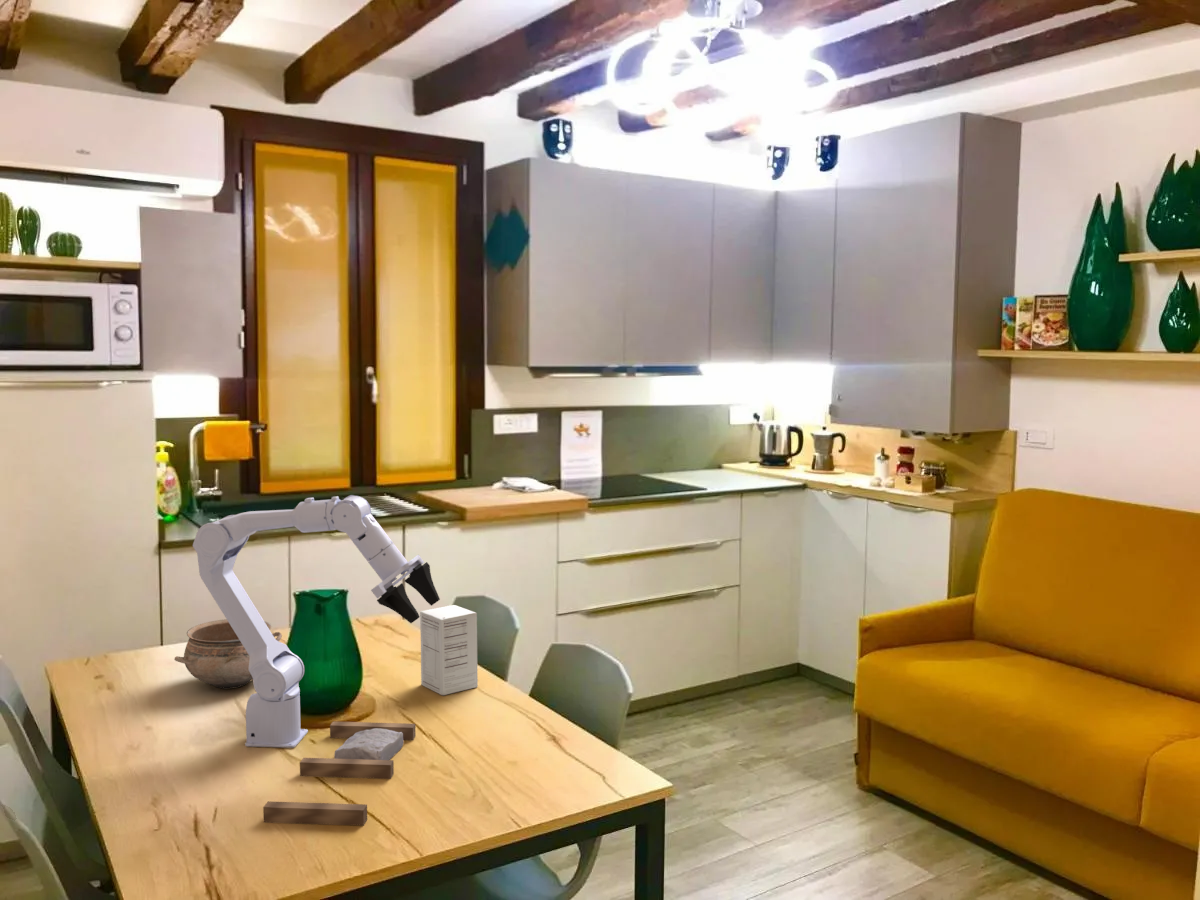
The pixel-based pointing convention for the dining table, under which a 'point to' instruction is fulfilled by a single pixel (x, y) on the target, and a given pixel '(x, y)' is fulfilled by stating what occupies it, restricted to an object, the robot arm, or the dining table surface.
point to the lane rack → (337, 768)
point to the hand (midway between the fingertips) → (425, 611)
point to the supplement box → (448, 649)
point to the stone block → (371, 745)
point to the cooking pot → (218, 655)
